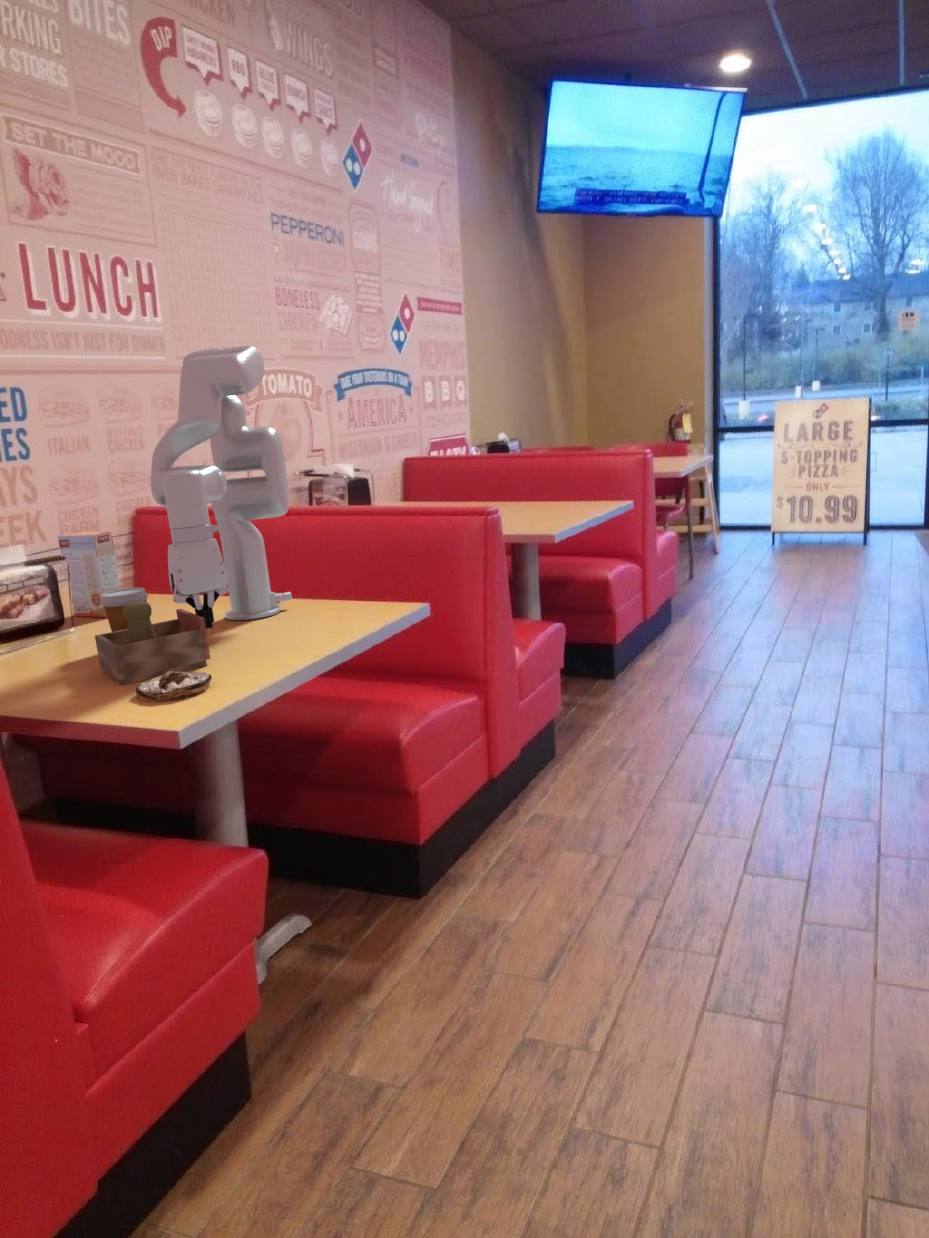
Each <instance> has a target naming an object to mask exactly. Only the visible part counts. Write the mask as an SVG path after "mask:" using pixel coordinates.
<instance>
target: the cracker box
mask: <svg viewBox="0 0 929 1238" xmlns="http://www.w3.org/2000/svg"><path fill="white" fill-rule="evenodd" d="M57 539H58V545H59V549H60V551H59V552H60V554H61V558H62V557H63V556H64V557H66V558H67V561H68V565H69V573H70V582H71V591H72V604H73V611H74V615H75V616H74V617H91V618H103V617H104V618H105V619H108V618H107V615H106V612H105V609H104V606H103V605H102V603H101V600H102V594H104V593H107V592H111V591H115V590H120V589H122V586H121V581H120V575H119V569H118V564H117V557H116V552H115V551H116V550H115V545H114V540H113V535H112V531H80V532H70V533H65V534H61V535H58V536H57ZM62 567H63V570H64V571H63V572H64V577H65V579H66V568H65V565H64V563H63V562H62Z"/></svg>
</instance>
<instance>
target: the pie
mask: <svg viewBox="0 0 929 1238" xmlns="http://www.w3.org/2000/svg"><path fill="white" fill-rule="evenodd" d="M211 681H212V675H211V674H210V673H207V672H204V671H203V672H199V671H180V672H174V671H168V672H166V673H165V674H164V675H162V676H158V677H155V678H151V679H149V680H146V681H144V682H141V683H139V684H138V685H137V686H136V688H135V694H136V696H137V698H138V700H140V701H143V702H146V703H148V702H149V703H159V702H160V703H163V702H165V703H166V702H174V701H180V700H185V699H187V698H192V697H197V696H199V695H202V694H204V693H207V690H208V689H209V688H211V685H210V684H211Z"/></svg>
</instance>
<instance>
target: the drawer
mask: <svg viewBox="0 0 929 1238" xmlns="http://www.w3.org/2000/svg"><path fill="white" fill-rule="evenodd" d="M175 611H176V616H177V618H176V619H178V621H179V627H180V633H183V632H187V631H192V630H197V629H201V632H202V638H203V644H204V651H205V657H206V661H207V660H211V652H210V647H209V641H208V634H207V629H206V627H205V621H204V618H203V617H201V616H198V615H196V614H195V613H192V612H191V611H188V610H185V609H183V608H177V609H175Z"/></svg>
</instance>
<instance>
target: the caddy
mask: <svg viewBox="0 0 929 1238" xmlns="http://www.w3.org/2000/svg"><path fill="white" fill-rule="evenodd" d="M152 626H153V630H154V633H155V636H156V638H154V639H149V640H145V641H140V642H135V643H130V644H128V629H125V630H120V631H115V632H112V631H110V632H106V633H105V632H104V633H100V634H96V635H94V638H95V639H94V640H95V645H96V650H97V656H98V661H99V667H100V670H101V672H102V673H104V674H105V675H107V677H109V678H110V679H112V680H113V681H115V682H116V683H117V684H118V685H120V686H124V685H129V684H133V683H137V682H141V681H148V680H151V679H153V678H156V677H158V676H162V675H164V674H165V673H166V672H168V671H174V672H180V671H181V672H183V671H184V672H187V671H189V670H194V669H198V668H202V667H206V666H207V665H208V664H207V660H206V657H205V651H204V644H203V638H202V632H201V629H197V630H192V631H187V632H183V633H180V627H179V621H178V618H174V619H171V620H170V619H169V620H165V621H160V622H155V623H152Z"/></svg>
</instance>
